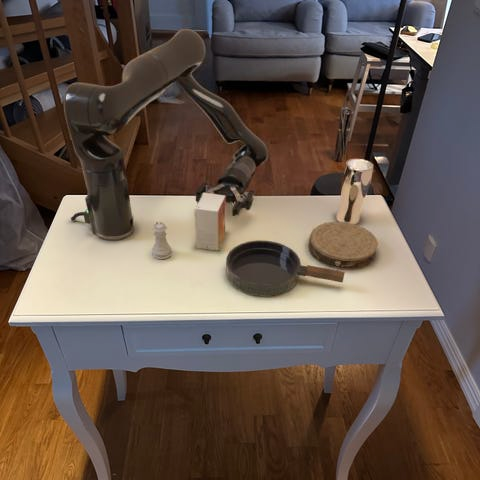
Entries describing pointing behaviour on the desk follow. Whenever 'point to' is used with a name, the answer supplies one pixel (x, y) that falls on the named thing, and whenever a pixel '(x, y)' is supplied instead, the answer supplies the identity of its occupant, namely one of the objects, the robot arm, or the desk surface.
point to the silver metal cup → (354, 189)
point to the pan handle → (321, 273)
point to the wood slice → (342, 245)
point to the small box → (210, 221)
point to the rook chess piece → (161, 242)
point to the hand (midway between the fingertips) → (216, 210)
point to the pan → (262, 267)
